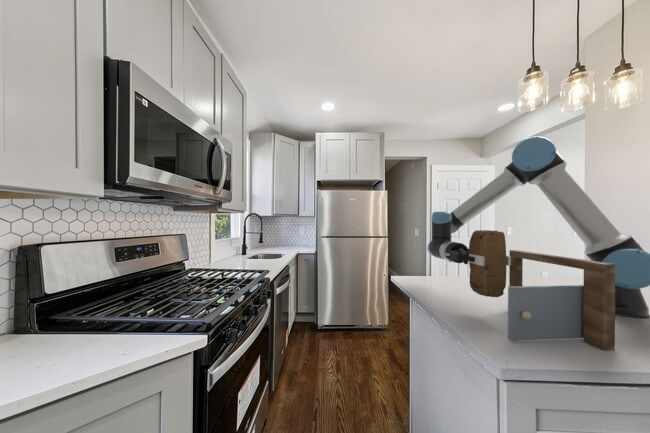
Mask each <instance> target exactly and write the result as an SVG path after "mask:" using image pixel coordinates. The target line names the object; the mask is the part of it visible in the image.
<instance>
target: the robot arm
mask: <svg viewBox="0 0 650 433" xmlns="http://www.w3.org/2000/svg"><path fill="white" fill-rule="evenodd" d="M511 153H512V154H511V162H510V163H509V164H508V165H507V166H505V167H504V169H503V172H501V174H499V175H498V176H497V177H496V178H494V179H493V180H492V181H490V182H489V183H487V185H485V186H483V187H482V188H481V189H479V190H478V191H477V192H475V193H474V194H473V195H472V196H471V197H469V198H467V200H465V201H464V202H463V203H461V204H460V205H459V206H458V207H456V208H455V209H453V211H434V212H433V211H432V214H431V240H429V242H428V243H427V244H428V245H427V251H428V253H429V254H430V255H431V256H433V257H435V258H437V259H442V260H445V261H446V260H447V261H448V263H456V264H462V263H463V264H464V265H469V263H473V264H477V265H481V266H484V257H483V256H479V255H474V254H469V247H467V245H466V244H464V243H462V242H455V241H452V234H454V233H456V232H457V231H459V229H460V228H461V227H464V225H466V224H467V223H468V222H469V221H471V220H473V219H474V218H475V217H477V216H478V215H480V213H482V212H484V211H485V210H486V209H488V208H489V207H490V206H492V205H493V204H494V203H496V202H498V201H499V200H500V199H501V198H503V197H505V196H506V195H507V194H509V193H510V192H511V191H513V190H514V189H516V188H517V187H519V186H524V185H526V184H527V183H528V184H529V185H536V186H537V187H538V188H539V189H540V191H541V192H542V193H543V194H544V195H545V197H546V198H547V199H548V200H549V201H550V203H551V204H552V205H553V206H554V208H555V209H556V210H557V212H559V214H560V215H561V216H562V218H563V219H564V220H565V221H566V223H567V224H569V226H570V228H571V229H572V230H573V231H574V232H575V233H576V235H577V237H579V239H580V240H581V241H582V242H583V244H584V245H585V246H586V247H585V251H584V253H585V255H586V257H587V258H588V259H589V261H596V262H603V263H610V264H615V316H616V315H617V316H621V317H622V316H623V317H631V318H647V317H649V316H650V310H649V306H648V304H647V302H646V301H645V298H644V295H643V292H642V291H641V289H644V288H647V287H650V253H648V252H647V251H646V250H644V249H643V247H642V246H641V245H640V244H639V243H638V242H637V241H636V239H635V238H634V237H632V235H631V234H630V235H629V234H627V233H622V232H620V231H619V230H618V229H617V228H616V227H615V225H613V223H612V221H610V219H608V217H607V216H606V215H605V214H604V213H603V212H602V211H601V210H600V208H599V207H598V206H597V205H596V204H595V202H594V201H593V200H592V199H591V197H589V195H588V194H587V193H586V192H585V191H584V190H583V188H581V187H580V185H579V184H578V183H577V182H576V181H575V180H574V178H573V177H572V175H570V174H569V172H568V171H567V170H566V166H567V163H568V162H566V161H565V159H564V158H563V157H562V155H561V154H560V153H559V152H558V151H557V148H556V145H555V144H554V142H552V141H551V140H550V139H548V138H547V137H543V136H532V137H528V138H525V139H523V140H522V141H520V142H519V143H518V144H517V145H516V146H515V147H514V149H513V151H512V152H511ZM506 266H507V267H508V266H511V257H510V256H509V255H506Z"/></svg>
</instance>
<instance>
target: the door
mask: <svg viewBox="0 0 650 433" xmlns="http://www.w3.org/2000/svg"><path fill="white" fill-rule="evenodd" d="M583 306H584V284H582V285H581V284H580V285H579V284H578V285H576V284H575V285H571V284H570V285H525V286H523V285H522V286H507V339H508V340H509V341H511V342H517V341H518V342H520V341H522V342H523V341H541V340H545V341H546V340H547V341H548V340H567V339H568V340H571V339H572V340H573V339H583Z"/></svg>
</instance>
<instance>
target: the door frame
mask: <svg viewBox="0 0 650 433" xmlns="http://www.w3.org/2000/svg"><path fill="white" fill-rule="evenodd" d="M508 256H510V257H511V266H509V272H508V274H509V276H508V277H509V278H508V279H509V284H508V285H509V286H523V273H524V272H523V260H528V261H535V262H541V263H546V264H550V265H557V266H563V267H568V268H575V269H579V270H583V285H584V306H583V338H582V339H583V343H585V344H587V345H590V346H592V347H594V348H596V349H599V350H601V351H616V315H615V264H610V263H603V262H596V261H591V260H590V259H589V260H588V259H581V258H573V257H567V256H562V255H560V256H559V255H553V254H546V253H540V252H539V253H538V252H535V251H534V252H533V251H532V252H531V251H525V250H518V249H512V250H510V249H509V254H508ZM509 286H508V287H509Z"/></svg>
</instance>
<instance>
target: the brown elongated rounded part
mask: <svg viewBox="0 0 650 433" xmlns="http://www.w3.org/2000/svg"><path fill="white" fill-rule="evenodd" d="M468 245H469V246H468V249H469V254H474V255H479V256H483V257H484V266H481V265H477V264H473V263H469V262H468V265H469V287H470V289H471V290H472V291H473V292H475V293H476V294H477V295H480V296H484V297H489V298H499V297H502V296H503V295H504V292H505V291H504V290H505V289H506V286H507V265H506V256H507V244H506V236H505V232H503V231H498V230H489V229H487V230H485V229H483V230H482V229H481V230H479V229H478V230H476V229H475V231H473V232H472V234H471V237H470V239H469V243H468Z"/></svg>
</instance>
